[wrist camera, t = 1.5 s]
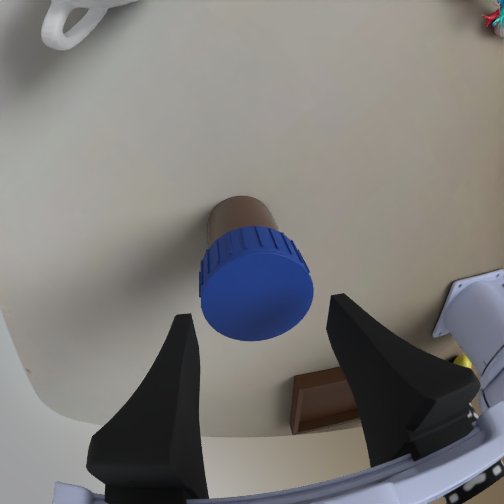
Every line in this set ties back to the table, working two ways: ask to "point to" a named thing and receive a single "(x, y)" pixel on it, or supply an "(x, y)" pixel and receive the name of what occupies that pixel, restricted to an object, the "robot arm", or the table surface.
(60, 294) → the table surface
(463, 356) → the lemon
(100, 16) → the cup
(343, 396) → the tray
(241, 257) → the jar lid
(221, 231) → the jar
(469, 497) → the spotted tube
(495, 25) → the anatomy model
